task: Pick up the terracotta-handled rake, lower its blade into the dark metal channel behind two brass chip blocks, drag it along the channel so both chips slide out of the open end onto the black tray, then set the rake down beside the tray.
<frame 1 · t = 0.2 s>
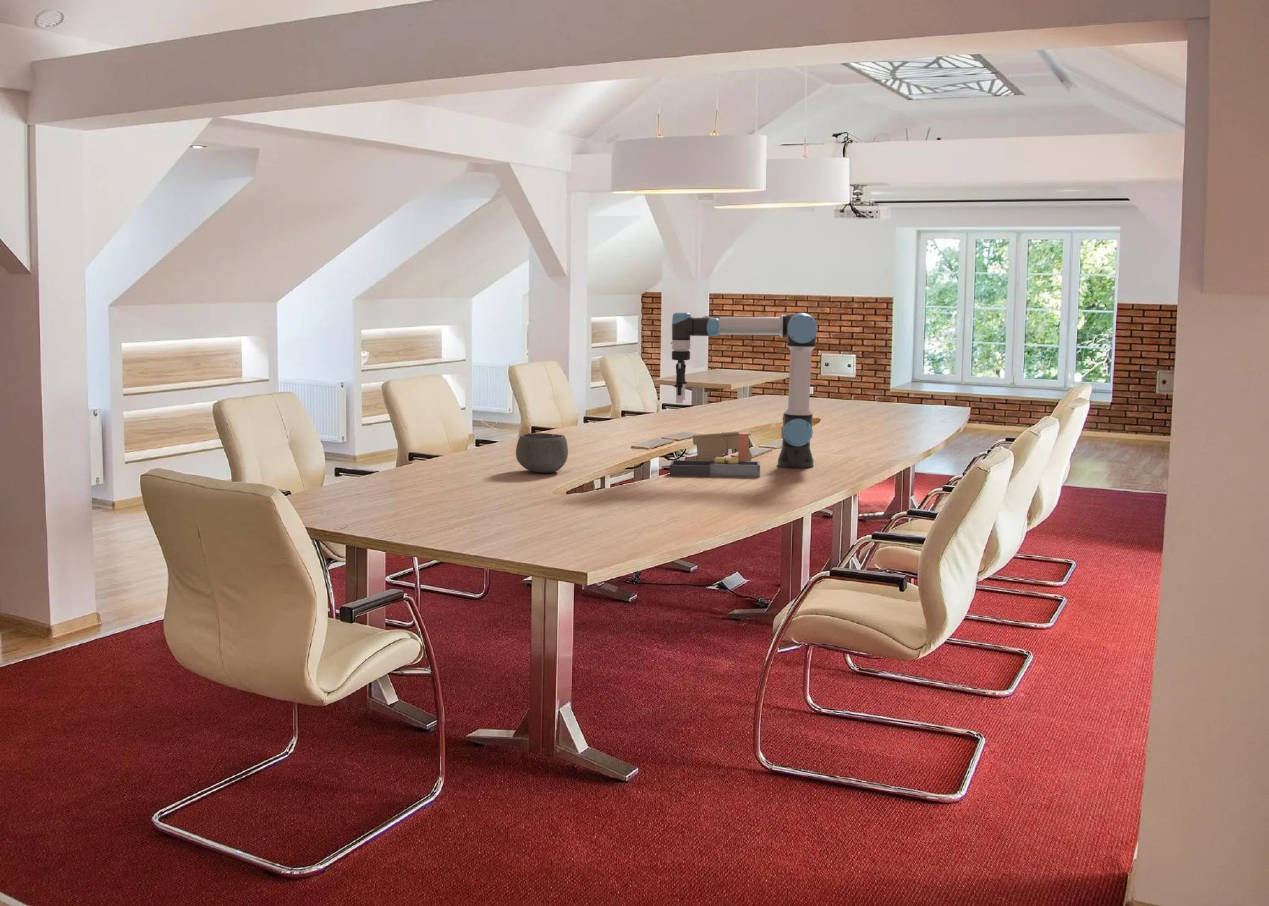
hand: (680, 401, 504), 28 cm above the table, fingers open, 13 cm apart
chip b: (720, 467, 493), point 2 cm above the table, touching rail
tray: (690, 473, 495), on the table
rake: (742, 470, 503), on the table
gun: (722, 465, 516), on the table
bowl: (542, 472, 495), on the table
rail: (735, 474, 493), on the table
chip a: (732, 468, 492), point 2 cm above the table, touching rail
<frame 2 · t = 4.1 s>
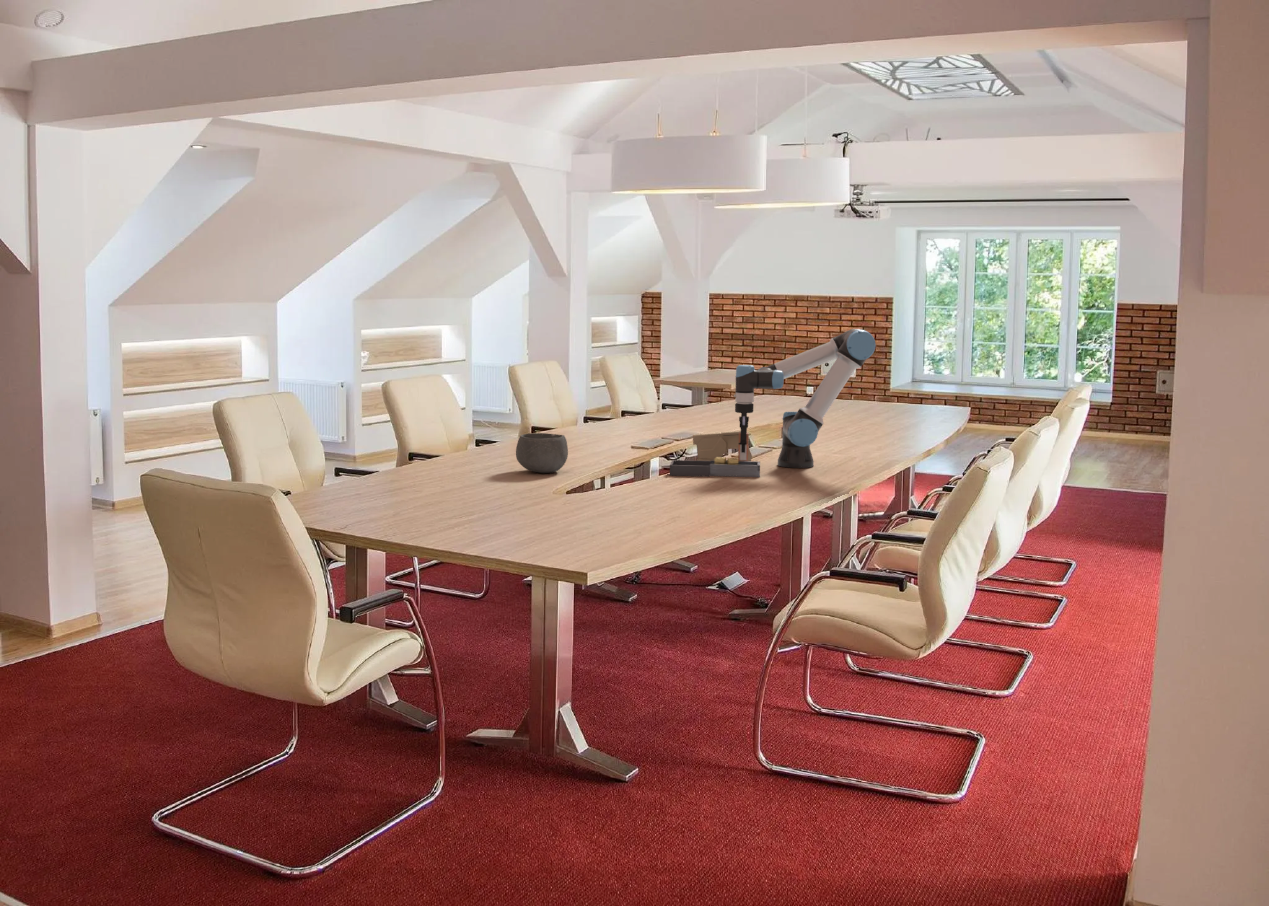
hand: (743, 459, 503), 5 cm above the table, fingers closed on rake, 4 cm apart
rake: (742, 470, 503), on the table, touching gripper
everything else where it was.
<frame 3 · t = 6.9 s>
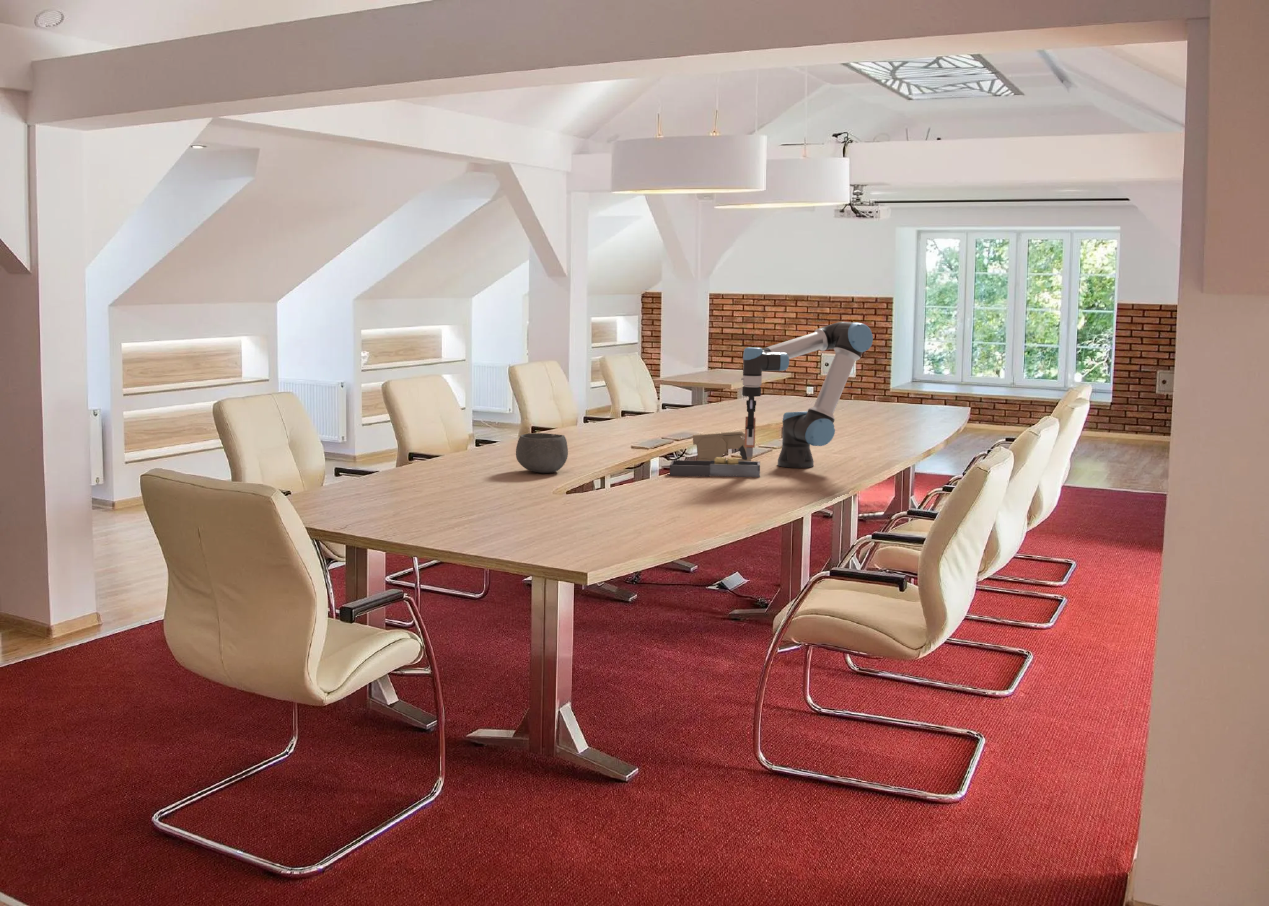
hand: (750, 444, 490), 13 cm above the table, fingers closed on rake, 4 cm apart
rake: (749, 455, 491), point 8 cm above the table, touching gripper
everything else where it was.
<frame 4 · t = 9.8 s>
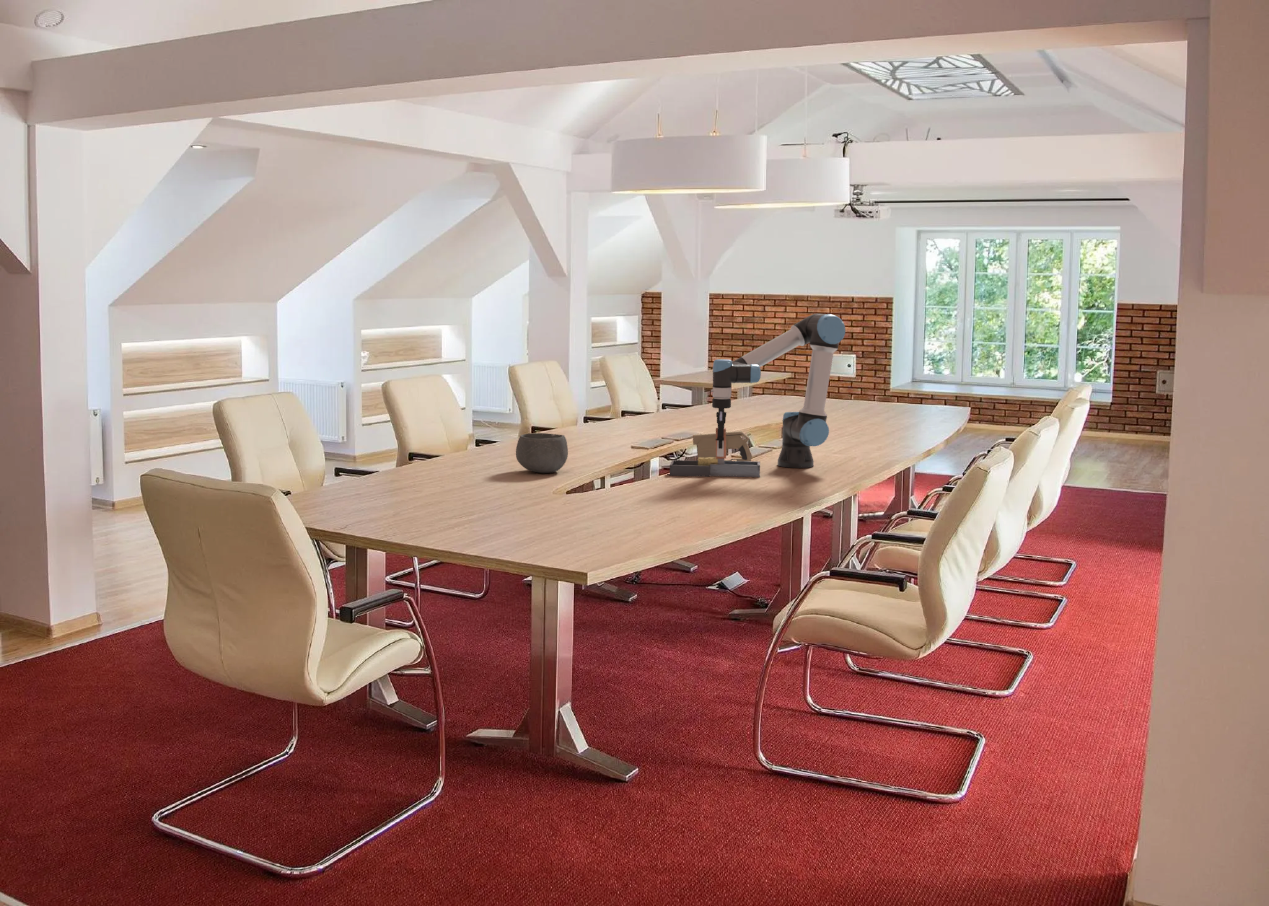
hand: (720, 455, 492), 8 cm above the table, fingers closed on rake, 4 cm apart
chip b: (703, 467, 494), point 2 cm above the table, touching chip a, tray
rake: (721, 466, 493), point 3 cm above the table, touching chip a, gripper
chip a: (713, 467, 493), point 3 cm above the table, touching chip b, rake
everything else where it was.
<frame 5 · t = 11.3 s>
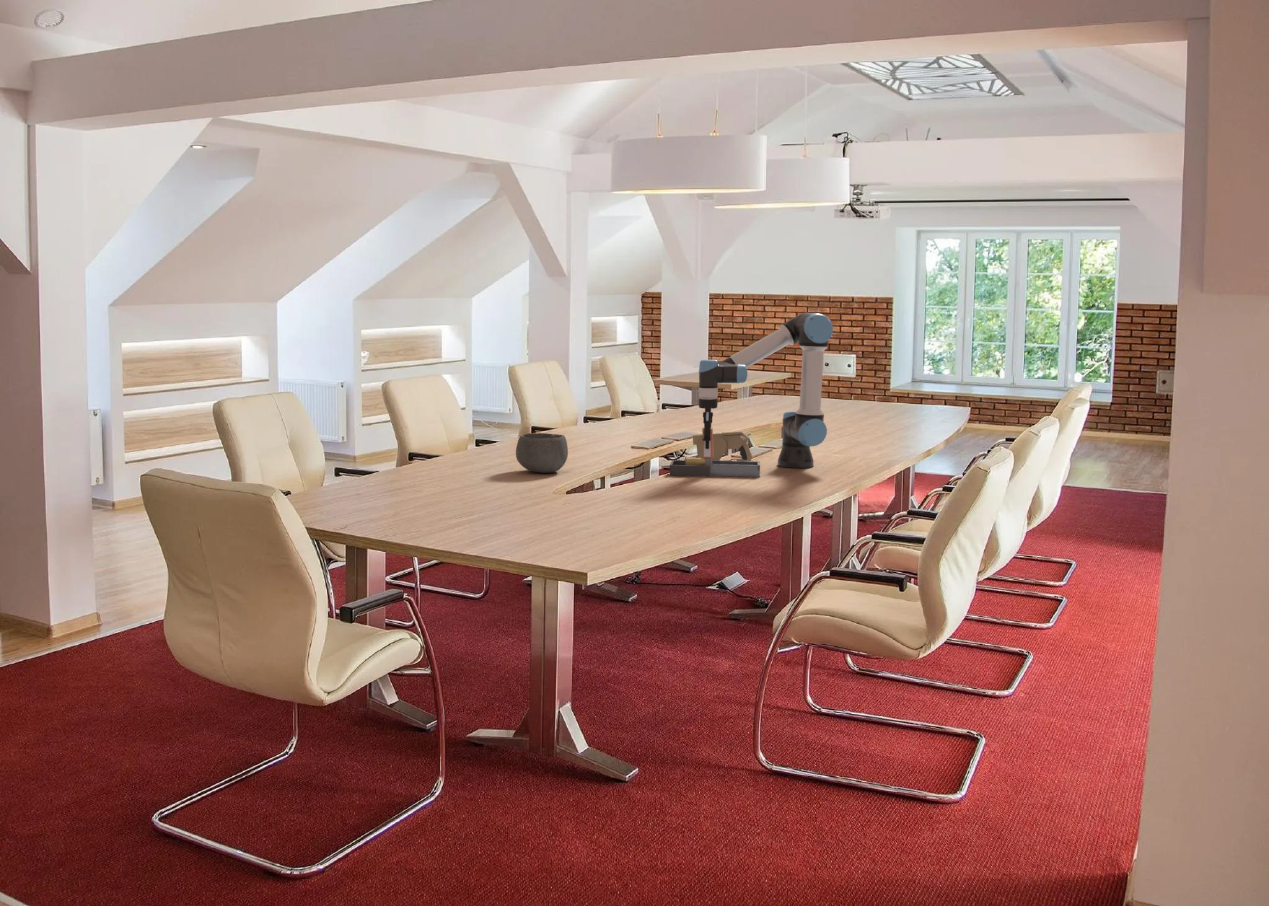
hand: (707, 455, 493), 7 cm above the table, fingers closed on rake, 4 cm apart
chip b: (690, 467, 495), point 2 cm above the table, touching chip a, tray
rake: (708, 466, 493), point 3 cm above the table, touching chip a, gripper
chip a: (700, 468, 493), point 2 cm above the table, touching chip b, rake, tray
everything else where it was.
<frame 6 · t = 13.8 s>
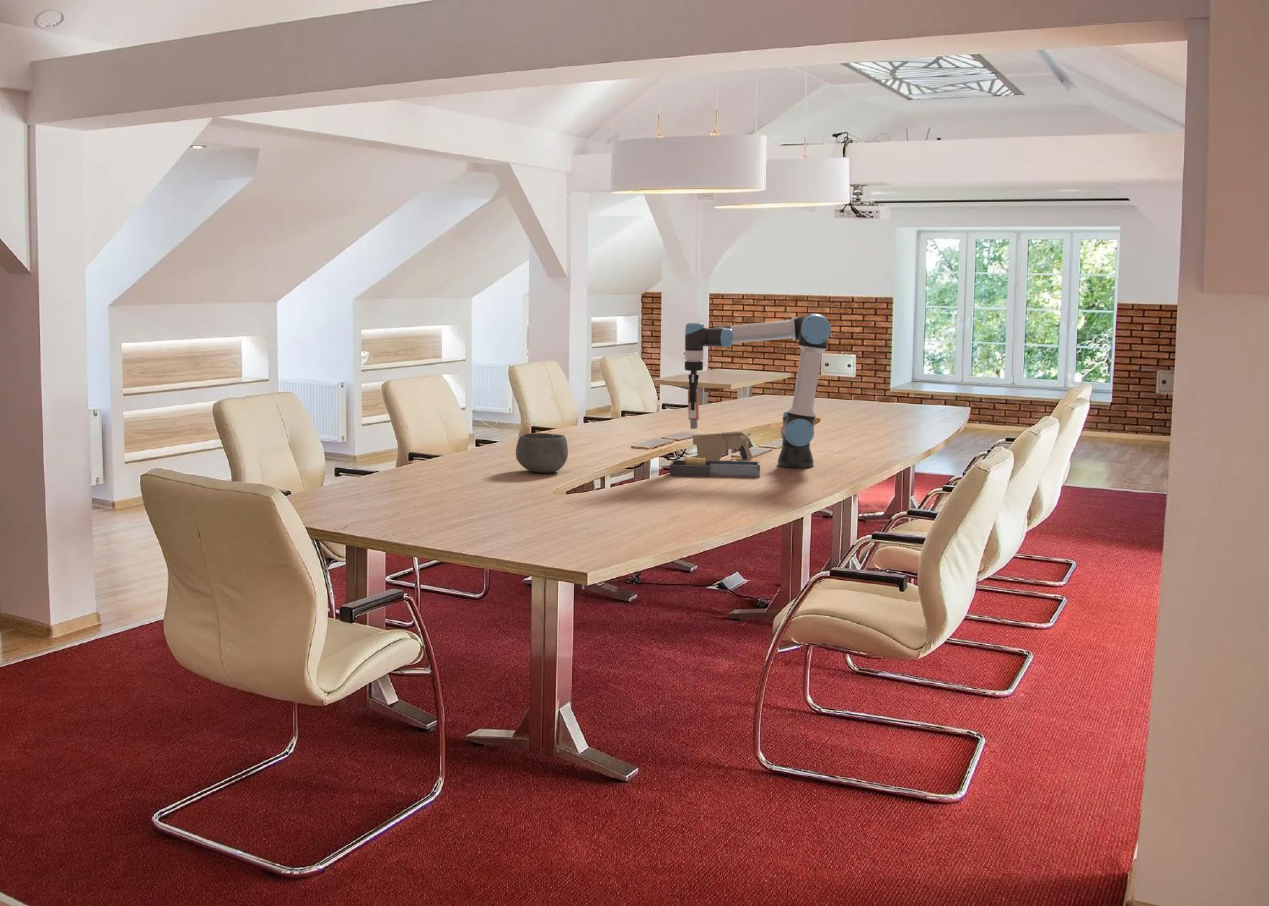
hand: (692, 417, 503), 22 cm above the table, fingers closed on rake, 4 cm apart
chip b: (690, 467, 495), point 2 cm above the table, touching tray
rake: (694, 427, 504), point 17 cm above the table, touching gripper
chip a: (700, 468, 493), point 2 cm above the table, touching tray
everything else where it was.
when the fingers open (6 cm above the table, at t = 16.2 s): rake drops 2 cm, on the table.
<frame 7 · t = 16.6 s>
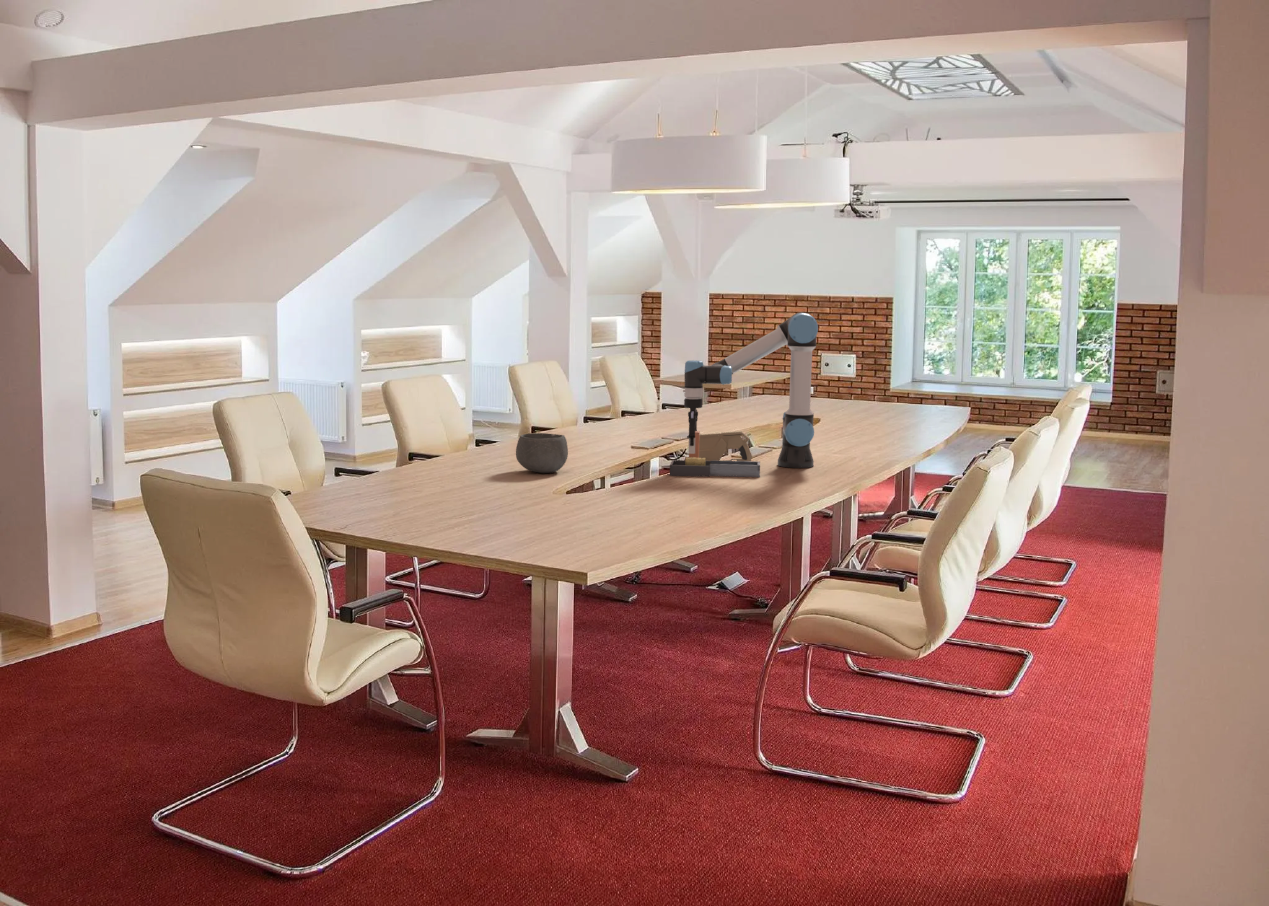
hand: (692, 451, 505), 7 cm above the table, fingers open, 9 cm apart
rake: (693, 468, 506), on the table
everything else where it was.
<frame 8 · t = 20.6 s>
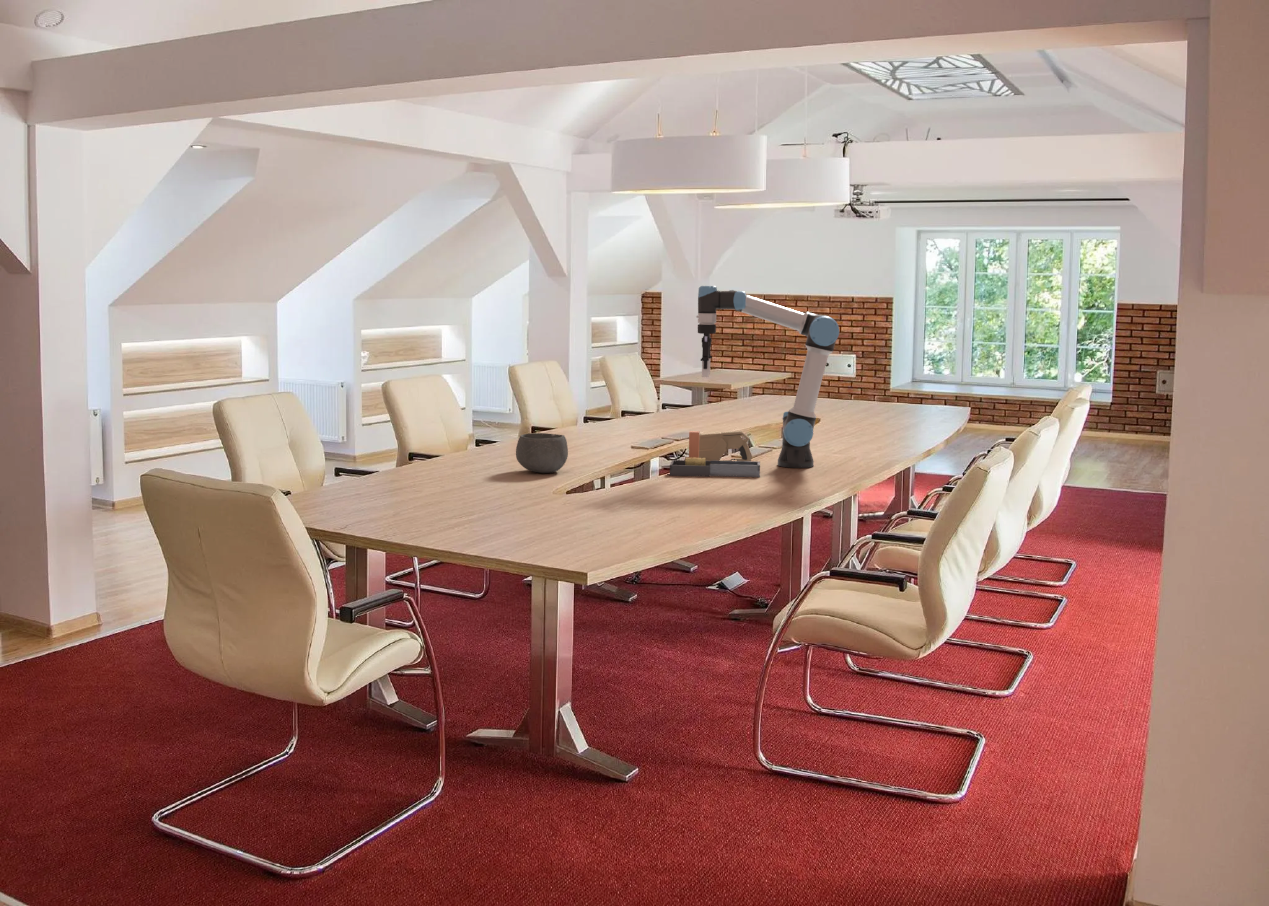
hand: (706, 375, 501), 39 cm above the table, fingers open, 13 cm apart
nothing on the table moved.
at the end: chip a inside the target area on the tray (4.2 cm from its centre), point 2.2 cm above the tray's base; chip b inside the target area on the tray (0.5 cm from its centre), point 2.2 cm above the tray's base; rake inside the target area (0.6 cm from its centre), on the table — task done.
